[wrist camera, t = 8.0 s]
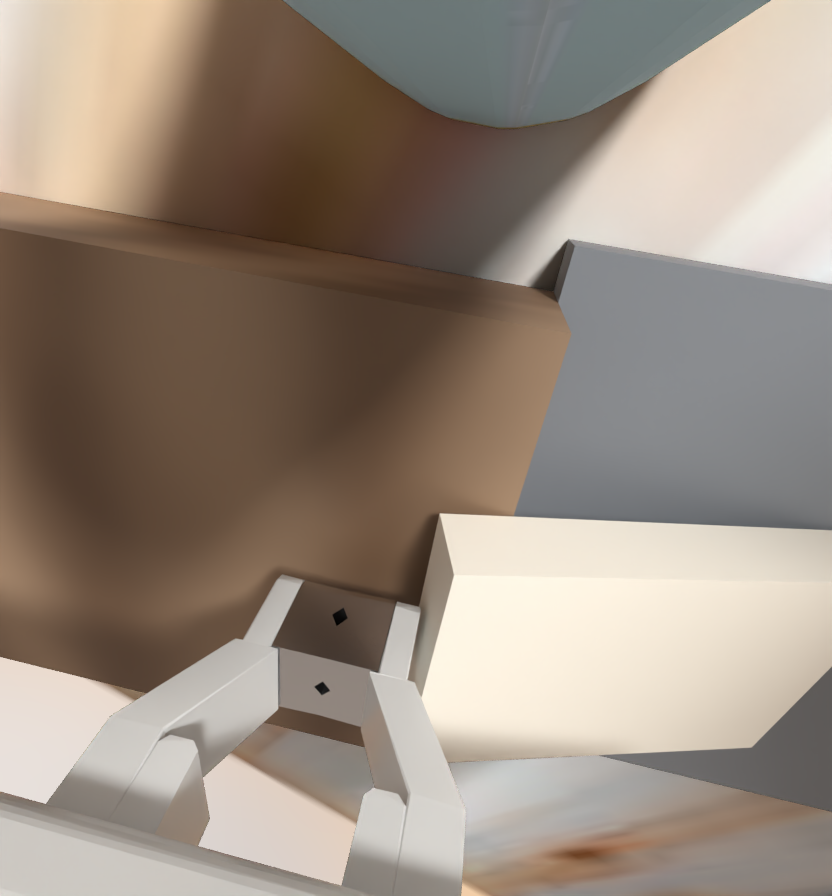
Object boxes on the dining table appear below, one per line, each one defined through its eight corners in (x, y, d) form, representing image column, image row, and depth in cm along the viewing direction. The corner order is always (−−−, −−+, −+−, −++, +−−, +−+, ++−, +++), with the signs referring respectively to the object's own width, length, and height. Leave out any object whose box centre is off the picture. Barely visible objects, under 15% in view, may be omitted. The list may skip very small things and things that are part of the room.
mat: (1429, 387, 8) (1537, 412, 7) (876, 792, 16) (897, 827, 15) (568, 239, 9) (574, 245, 8) (440, 689, 17) (436, 716, 16)
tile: (844, 530, 10) (912, 584, 9) (713, 691, 13) (751, 747, 12) (439, 513, 9) (454, 575, 7) (398, 699, 12) (403, 764, 11)
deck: (553, 291, 10) (571, 333, 7) (445, 672, 16) (434, 764, 14) (-228, 151, 11) (-455, 143, 8) (-31, 560, 18) (-123, 626, 15)
